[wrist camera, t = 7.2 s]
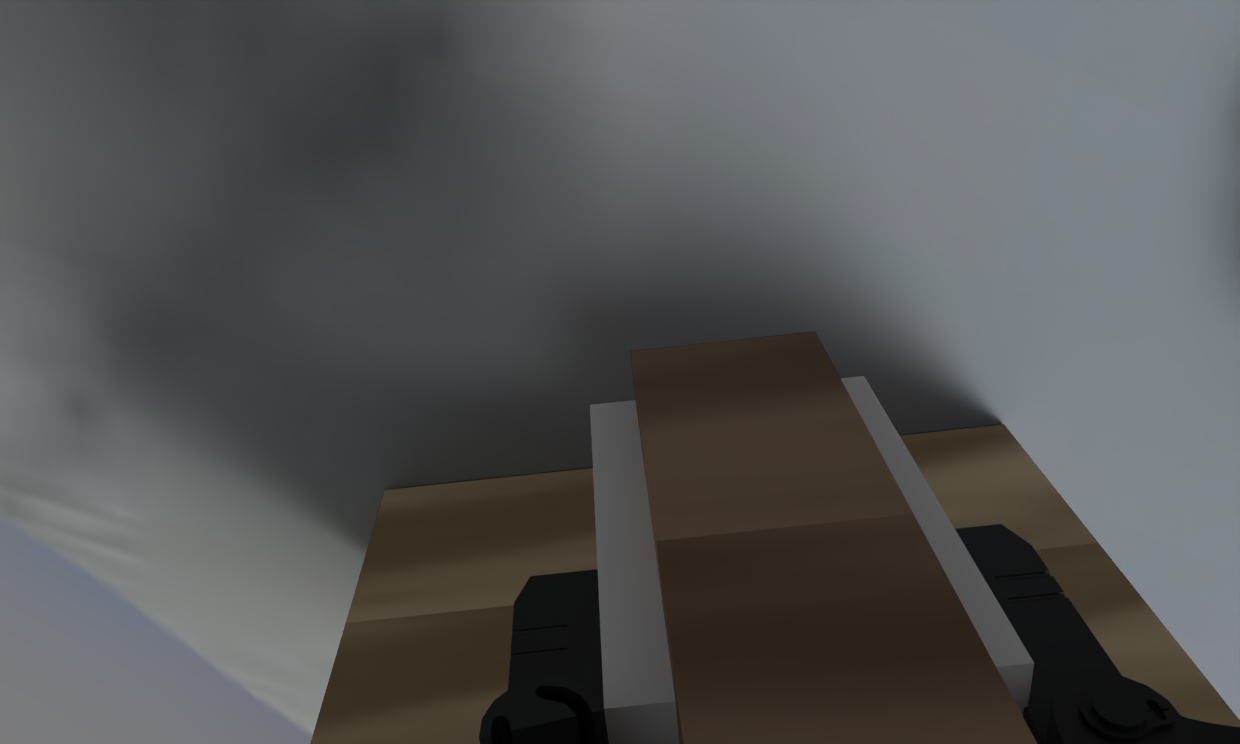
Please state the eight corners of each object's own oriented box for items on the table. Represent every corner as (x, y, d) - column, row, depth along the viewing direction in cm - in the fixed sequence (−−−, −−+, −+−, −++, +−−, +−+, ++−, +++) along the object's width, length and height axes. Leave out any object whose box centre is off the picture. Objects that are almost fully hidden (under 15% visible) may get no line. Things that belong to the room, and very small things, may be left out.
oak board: (384, 490, 25) (285, 829, 16) (1003, 424, 25) (1244, 727, 16) (407, 581, 26) (327, 941, 18) (994, 519, 26) (1211, 847, 18)
